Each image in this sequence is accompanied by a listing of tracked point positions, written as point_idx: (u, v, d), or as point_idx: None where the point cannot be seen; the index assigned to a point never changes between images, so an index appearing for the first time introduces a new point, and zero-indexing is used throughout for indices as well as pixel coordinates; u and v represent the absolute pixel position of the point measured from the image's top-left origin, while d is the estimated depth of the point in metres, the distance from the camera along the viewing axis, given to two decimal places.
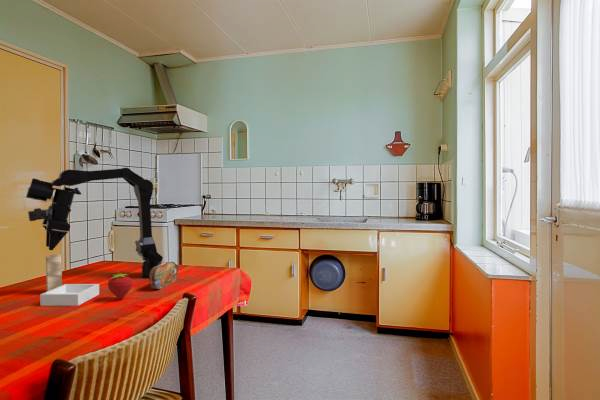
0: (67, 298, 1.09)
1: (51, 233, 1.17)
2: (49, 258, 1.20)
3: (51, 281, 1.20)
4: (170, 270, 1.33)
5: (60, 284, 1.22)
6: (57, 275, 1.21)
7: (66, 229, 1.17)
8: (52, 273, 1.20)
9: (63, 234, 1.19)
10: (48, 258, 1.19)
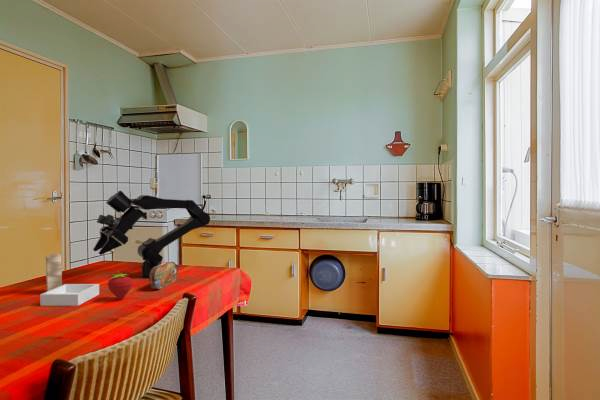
0: (67, 298, 1.09)
1: (109, 240, 1.28)
2: (49, 258, 1.20)
3: (51, 281, 1.20)
4: (170, 270, 1.33)
5: (60, 284, 1.22)
6: (57, 275, 1.21)
7: (124, 242, 1.29)
8: (52, 273, 1.20)
9: (117, 245, 1.30)
10: (48, 258, 1.20)
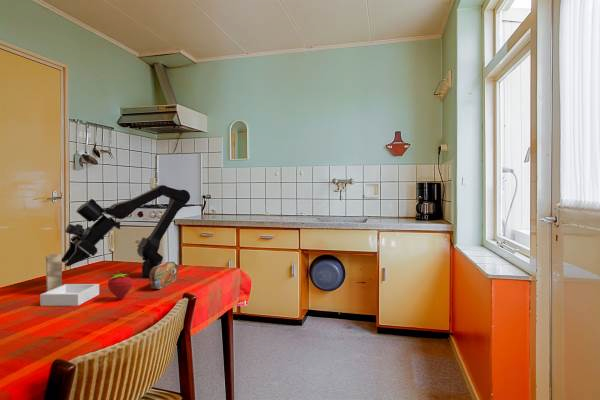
0: (67, 298, 1.09)
1: (77, 251, 1.21)
2: (49, 258, 1.20)
3: (51, 281, 1.20)
4: (170, 270, 1.33)
5: (60, 284, 1.22)
6: (57, 275, 1.21)
7: (92, 253, 1.22)
8: (52, 273, 1.20)
9: (86, 256, 1.23)
10: (48, 258, 1.20)
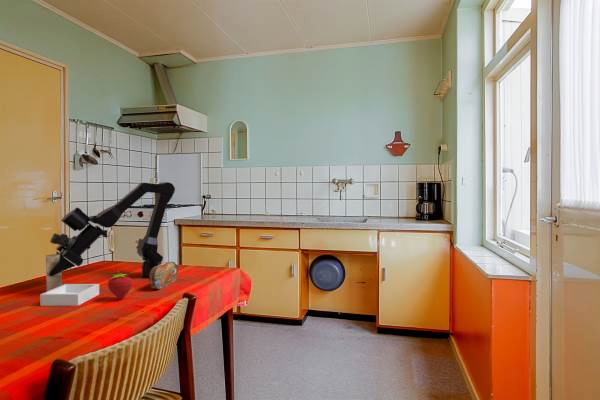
0: (67, 298, 1.09)
1: (61, 260, 1.20)
2: (49, 258, 1.20)
3: (51, 281, 1.20)
4: (170, 270, 1.33)
5: (60, 284, 1.22)
6: (57, 275, 1.21)
7: (77, 264, 1.19)
8: None
9: (70, 266, 1.22)
10: (48, 258, 1.20)
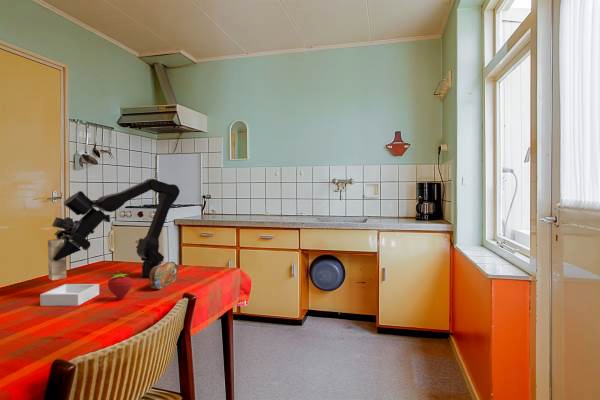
0: (67, 298, 1.09)
1: (66, 244, 1.17)
2: (53, 242, 1.16)
3: (56, 266, 1.17)
4: (170, 270, 1.33)
5: (64, 269, 1.19)
6: (61, 260, 1.18)
7: (85, 247, 1.17)
8: None
9: (75, 250, 1.19)
10: (52, 242, 1.16)
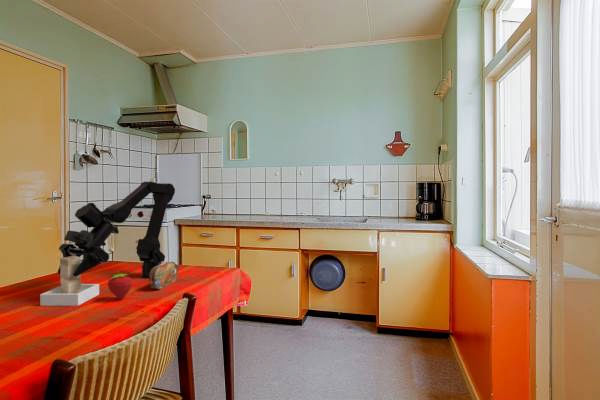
0: (67, 298, 1.09)
1: (87, 259, 1.13)
2: (69, 260, 1.12)
3: (72, 285, 1.13)
4: (170, 270, 1.33)
5: (79, 287, 1.15)
6: (76, 278, 1.14)
7: (106, 260, 1.15)
8: (72, 276, 1.13)
9: (95, 264, 1.16)
10: (68, 260, 1.12)
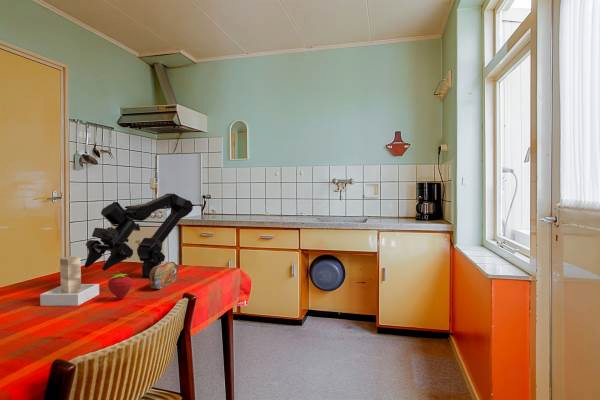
0: (67, 298, 1.09)
1: (114, 254, 1.21)
2: (69, 260, 1.12)
3: (72, 285, 1.13)
4: (170, 270, 1.33)
5: (79, 287, 1.15)
6: (76, 278, 1.14)
7: (130, 255, 1.24)
8: (72, 276, 1.13)
9: (121, 259, 1.24)
10: (68, 260, 1.12)
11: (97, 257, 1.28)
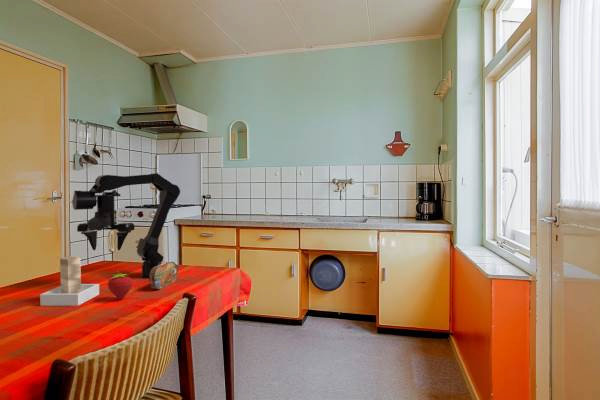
0: (67, 298, 1.09)
1: (122, 235, 1.31)
2: (69, 260, 1.12)
3: (72, 285, 1.13)
4: (170, 270, 1.33)
5: (79, 287, 1.15)
6: (76, 278, 1.14)
7: (133, 228, 1.34)
8: (72, 276, 1.13)
9: (126, 233, 1.34)
10: (68, 260, 1.12)
11: (95, 235, 1.33)
